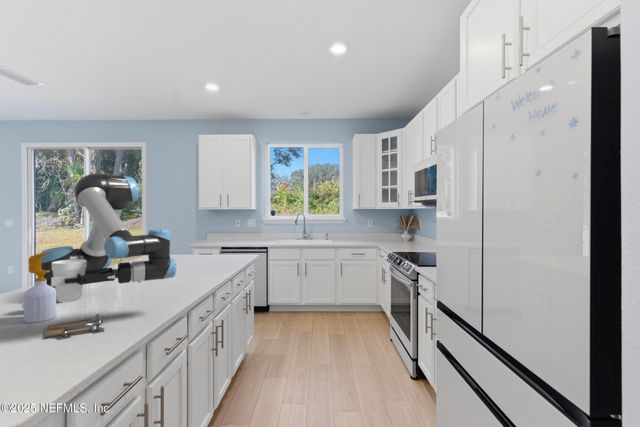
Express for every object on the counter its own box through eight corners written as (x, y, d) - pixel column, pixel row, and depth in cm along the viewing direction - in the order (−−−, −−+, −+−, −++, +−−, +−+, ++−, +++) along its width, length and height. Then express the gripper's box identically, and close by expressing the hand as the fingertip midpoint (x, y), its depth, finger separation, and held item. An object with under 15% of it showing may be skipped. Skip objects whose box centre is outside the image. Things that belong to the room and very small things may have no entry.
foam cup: (47, 305, 103) (47, 264, 103) (55, 297, 111) (55, 260, 111) (83, 301, 107) (83, 262, 107) (88, 294, 116) (89, 258, 116)
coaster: (48, 327, 111) (48, 325, 111) (90, 321, 118) (90, 318, 118) (44, 339, 101) (44, 336, 101) (91, 331, 108) (91, 328, 108)
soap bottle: (37, 324, 114) (37, 255, 114) (17, 322, 116) (17, 254, 116) (62, 316, 123) (62, 251, 123) (43, 314, 125) (43, 251, 125)
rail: (60, 327, 111) (60, 318, 111) (102, 320, 118) (102, 312, 118) (58, 339, 101) (58, 329, 101) (104, 331, 108) (104, 322, 108)
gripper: (134, 288, 111) (49, 297, 98) (127, 277, 129) (55, 284, 116) (134, 266, 111) (49, 273, 98) (127, 258, 129) (55, 263, 116)
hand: (52, 279), depth 107 cm, fingers closed on foam cup, 9 cm apart
